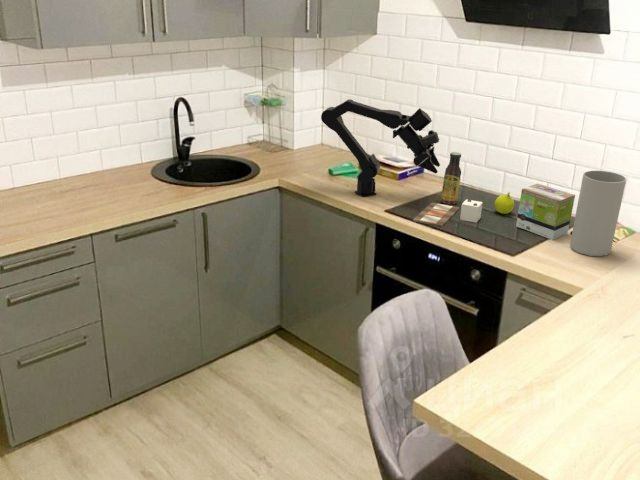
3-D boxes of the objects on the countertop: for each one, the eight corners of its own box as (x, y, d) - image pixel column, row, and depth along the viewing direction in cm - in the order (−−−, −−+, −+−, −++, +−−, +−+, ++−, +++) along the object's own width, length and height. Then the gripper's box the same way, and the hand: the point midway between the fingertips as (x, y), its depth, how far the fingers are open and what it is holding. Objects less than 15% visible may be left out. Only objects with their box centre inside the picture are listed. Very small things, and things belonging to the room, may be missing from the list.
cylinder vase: (574, 255, 205) (588, 181, 195) (565, 240, 216) (579, 169, 206) (615, 258, 203) (631, 183, 193) (604, 243, 215) (619, 171, 205)
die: (464, 214, 237) (466, 197, 234) (480, 217, 235) (482, 200, 232) (460, 219, 232) (462, 202, 230) (476, 222, 230) (478, 205, 227)
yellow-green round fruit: (508, 218, 235) (512, 192, 231) (490, 213, 239) (493, 188, 235) (515, 212, 240) (519, 187, 236) (498, 208, 244) (501, 183, 240)
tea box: (514, 227, 226) (520, 187, 220) (530, 221, 232) (537, 182, 226) (552, 241, 216) (560, 199, 210) (568, 234, 222) (576, 193, 216)
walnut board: (431, 203, 247) (431, 202, 247) (459, 209, 242) (459, 207, 242) (412, 221, 230) (412, 219, 230) (442, 226, 225) (442, 224, 225)
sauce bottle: (438, 203, 248) (443, 153, 240) (443, 198, 253) (448, 150, 245) (455, 206, 245) (460, 156, 237) (459, 201, 250) (465, 152, 242)
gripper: (424, 130, 231) (452, 162, 233) (430, 119, 248) (456, 150, 250) (401, 150, 236) (429, 181, 238) (408, 138, 253) (434, 167, 255)
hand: (438, 169), depth 245 cm, fingers open, 9 cm apart
